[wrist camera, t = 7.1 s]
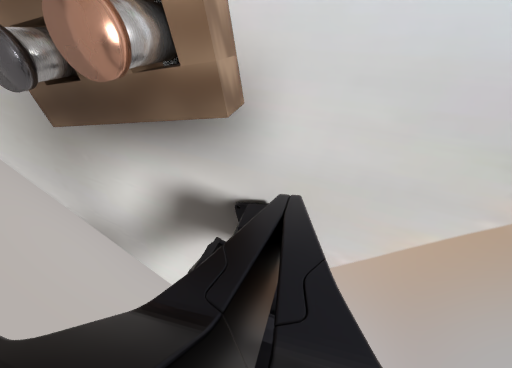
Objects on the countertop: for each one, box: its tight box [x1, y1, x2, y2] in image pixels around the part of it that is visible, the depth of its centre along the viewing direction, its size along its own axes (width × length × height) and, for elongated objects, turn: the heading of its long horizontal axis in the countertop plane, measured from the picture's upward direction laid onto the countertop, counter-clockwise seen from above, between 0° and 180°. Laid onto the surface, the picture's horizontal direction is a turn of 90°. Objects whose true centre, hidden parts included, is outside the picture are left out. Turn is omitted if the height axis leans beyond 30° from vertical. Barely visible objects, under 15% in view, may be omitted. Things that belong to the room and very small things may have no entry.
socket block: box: [0, 0, 244, 127], centre depth 18 cm, size 12×20×4 cm, turn 98°
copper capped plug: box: [42, 0, 178, 82], centre depth 14 cm, size 4×4×7 cm
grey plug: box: [0, 24, 77, 92], centre depth 18 cm, size 4×4×7 cm
